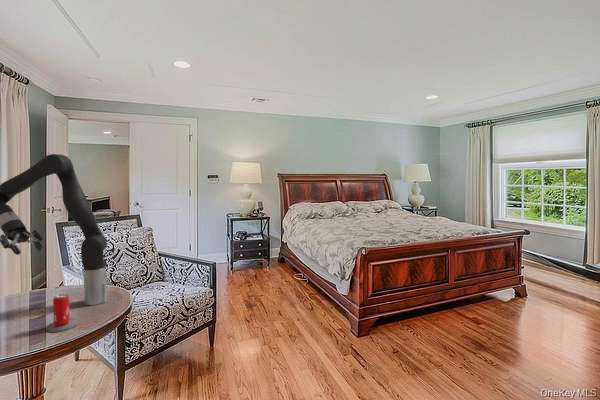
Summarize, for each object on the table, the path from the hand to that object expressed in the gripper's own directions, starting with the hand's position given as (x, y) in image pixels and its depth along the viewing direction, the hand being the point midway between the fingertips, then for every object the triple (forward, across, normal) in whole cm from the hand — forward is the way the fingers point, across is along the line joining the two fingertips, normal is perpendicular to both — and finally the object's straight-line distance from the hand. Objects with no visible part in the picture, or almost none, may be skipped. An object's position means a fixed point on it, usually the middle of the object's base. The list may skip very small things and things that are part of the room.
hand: (30, 251), depth 137 cm
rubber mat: (+37, -4, +3) cm, 37 cm away
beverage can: (+36, -4, +3) cm, 37 cm away
